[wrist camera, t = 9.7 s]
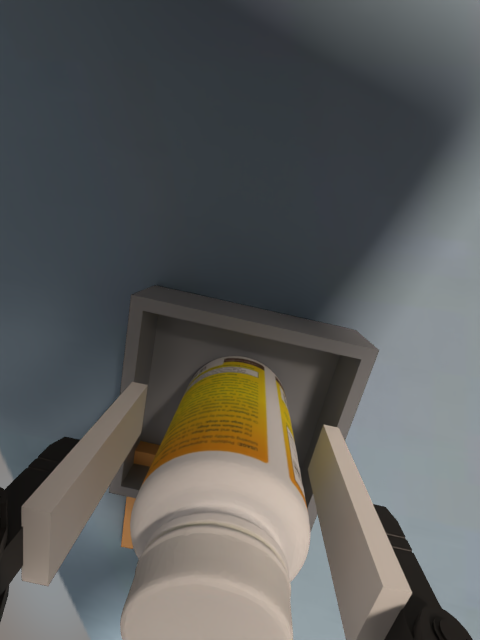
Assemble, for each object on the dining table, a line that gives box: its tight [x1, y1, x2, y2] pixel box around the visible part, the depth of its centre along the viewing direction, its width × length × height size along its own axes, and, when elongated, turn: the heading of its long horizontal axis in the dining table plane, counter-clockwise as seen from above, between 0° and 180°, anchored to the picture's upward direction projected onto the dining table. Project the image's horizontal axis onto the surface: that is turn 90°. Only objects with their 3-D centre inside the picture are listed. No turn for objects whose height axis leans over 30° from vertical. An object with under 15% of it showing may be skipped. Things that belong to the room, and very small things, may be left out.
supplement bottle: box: [120, 356, 310, 640], centre depth 11 cm, size 6×6×10 cm
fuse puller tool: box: [121, 441, 160, 549], centre depth 19 cm, size 8×2×2 cm, turn 168°
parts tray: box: [109, 285, 379, 532], centre depth 15 cm, size 11×11×3 cm
